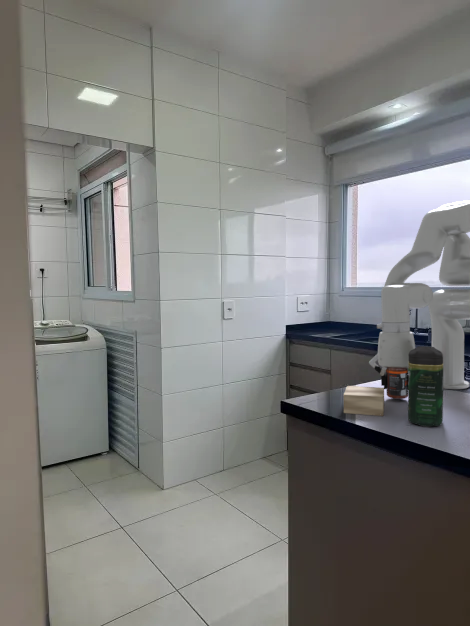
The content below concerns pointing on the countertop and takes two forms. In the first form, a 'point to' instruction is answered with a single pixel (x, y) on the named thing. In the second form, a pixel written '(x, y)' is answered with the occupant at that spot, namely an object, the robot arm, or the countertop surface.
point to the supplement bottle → (397, 382)
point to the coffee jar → (425, 386)
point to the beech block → (364, 400)
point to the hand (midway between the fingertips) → (397, 387)
